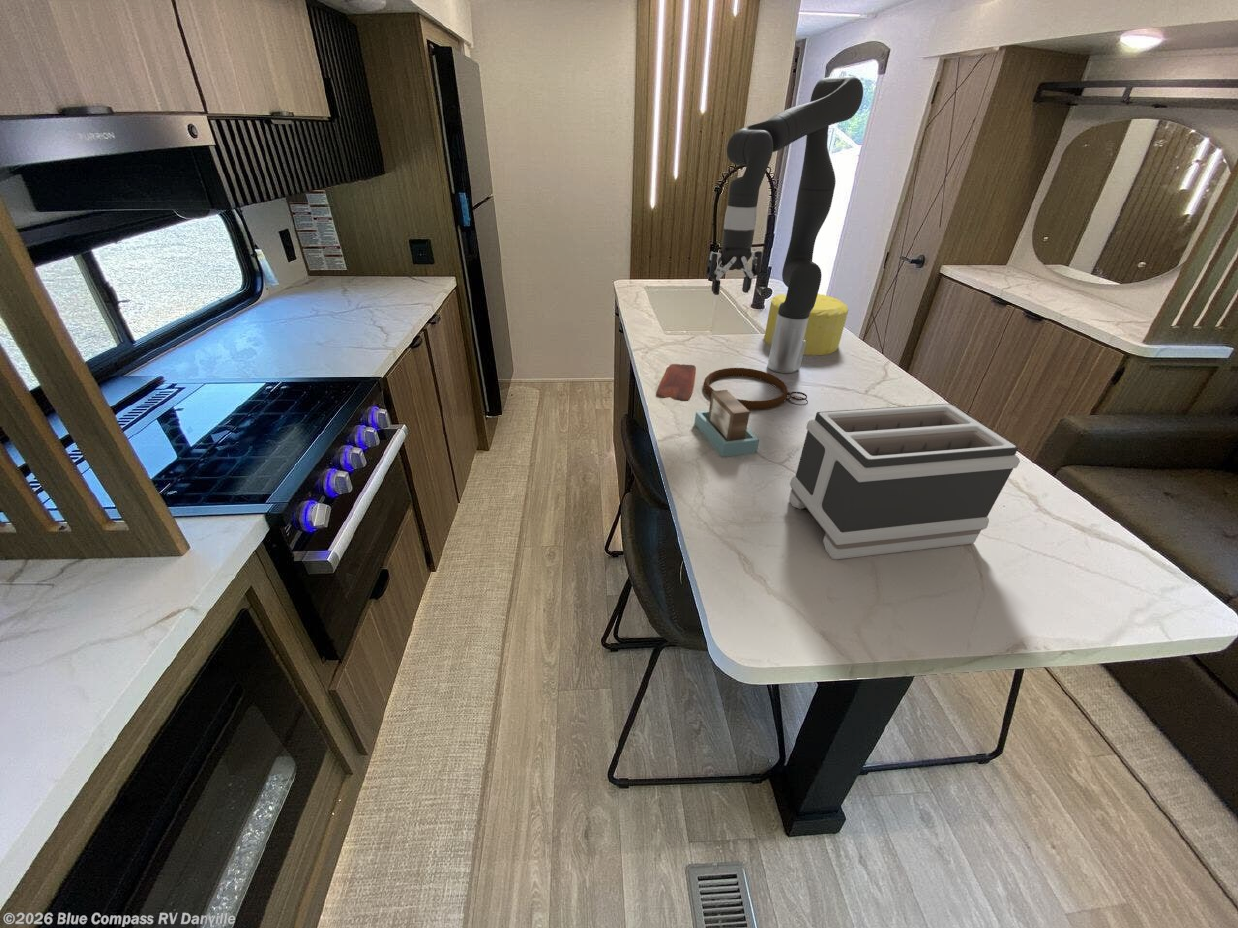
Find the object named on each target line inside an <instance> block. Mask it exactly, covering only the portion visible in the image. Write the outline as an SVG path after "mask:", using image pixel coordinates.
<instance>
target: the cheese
mask: <svg viewBox="0 0 1238 928" xmlns="http://www.w3.org/2000/svg"><path fill="white" fill-rule="evenodd" d="M786 295H787V294H783V293H782V294H777V295H775V296H773V297H772V298H771V300H770V305H769V311H768V316H767V322H766V328H765V332H764V337H763V339H764V341H765V342H766V344H767V345H770V346H772V341H773V336H774V331H775V326H776V320H777V315H778V310H779V306H780V304H781V303H783V302H784V301H785V299H786ZM848 313H849V308H848V305H847V304H846V303H843V302H842V300H840V299H838V298H836V297H832V296H829V295H825V294H820V293H818V295H817V298H816V302H815V305H814V307H813V309H812V310H811V312H810V315H809V319H808V323H807V328H806V332H805V337H804V340H805V341H806V344H805V349H804V353H803V356H804V355H806V356H822V354H823V355H830V354H832V353H834V352H836V351H837V350H838V349H839V346H840V343H841V339H842V334H843V331H844V328H845V324H846V320H847V317H848Z"/></svg>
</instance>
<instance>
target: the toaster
mask: <svg viewBox="0 0 1238 928" xmlns="http://www.w3.org/2000/svg"><path fill="white" fill-rule="evenodd" d="M805 428H806V430H807V432H806V435H805V437H804V438H805V440H804V441H803V442H804V443H803V447H802V450H801V454H800V458H799V462H798V465H797V470H796V473H795V475H793V476H792V478H791V480H790V482H789V486H790V488H791V490H790V493H789V498H788V501H789V503H790V504H791V506H792V507H793V508H794V509H799V510H800V509H807V510H808V512H810V514H811V515H812V517H813V518H814V520H815V521H816V522H817V523H818V524H819V525H820V527H821V529H823V531H824V532H825V534H824V537H823V545H824V548H825V552H827V554H828V555H829V557H830V558H831V559H832V560H842V559H843V560H844V559H850V558H859V557H869V556H870V557H871V556H879V555H885V554H893V553H894V554H895V553H896V554H897V553H902V552H911V551H912V552H913V551H920V550H921V551H922V550H930V549H936V548H938V549H939V548H946V547H955V546H964V545H972V544H974V543H975V542H976V541H977V540H978V537H979V535H980V534H981V531H982V530H986V529H987V528H988V525H989V523H990V518H989V517H988V516H989V515H990V512H991V511H992V509H993V507H994V505H995V503H996V501H997V499H998V498H999V496H1000V493H1001V492H1002V491H1003V489H1004V486H1005V484H1006V483H1007V481H1008V479H1009V477H1010V476H1011V474H1012V472H1013V470H1014V469H1016V468H1018V467H1019V464H1020V461H1021V460H1020V458H1019V457H1018V456H1017V455H1016V454H1017V452H1018V450H1019V446H1018V445H1016V444H1014V443H1013V442H1011V441H1009V440H1008V439H1007V438H1005V437H1003V436H1002V435H1000V434H998V433H997V432H996V431H994V430H992V429H991V428H989V427H987V426H986V425H984V424H983V423H981V422H980V421H978V420H977V419H975V418H973V417H972V416H971V415H969V414H967V413H966V412H964V411H963V410H961V409H959V408H957V407H956V406H955V405H953V404H951V403H937V404H921V405H904V406H892V407H873V408H858V409H843V410H841V409H840V410H829V411H817V412H816V413H815V416H814V419H811V420H808V421H807V423H806V426H805Z"/></svg>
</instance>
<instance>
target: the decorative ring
mask: <svg viewBox="0 0 1238 928" xmlns="http://www.w3.org/2000/svg"><path fill="white" fill-rule="evenodd" d="M729 377H744V378H752V379H754V380H755V379H756V380H760V381H763V382H766V383H768V384H771V385H772V384H773V385H772V386H774V385H775V386H776V389H778V390H779V392H780V393H781V395H779V396H777V397H775V398H774V397H773V398H770V399H766V400H763V399H762V400H747V399H739V398H736V399H737V400H738V401H739V402H740V403H741V404H742V405H743V406H744V407H746V408H747V409H748V410H749V411H762V410H763V411H764V410H771V409H773V408H777V407H779V406H780V405H782V404H784V403H785V401H788V403H791V404H792V405H794V406H795V405H796V406H806V405H808V403H809V400H808V399H807V398H808V395H807V394H806V393H804V392H802V391H792V392H791V391H789V389H788V387H787V385H786V383H785V382H784V381H783V380H782V379H780V378H779V377H778V376H775V375H773V374H771V373H770V372H769V373H768V372H765V371H763V370H758V369H754V368H747V367H746V368H745V367H730V368H729V367H728V368H721V369H717V370H714V371H713V372H710V373H709V374H708V375H707V376H706V377H705V378H704V381H703V385H702V386H703V389H704V392H705V394H706V395H707V397H709V398H710V399H711V393H712V391H716V390H715V389H714V388H713V387H712V386H711V385H710V384H711V382H713V381H715V380H718V379H722V378H729ZM775 386H774V387H775ZM792 394H799V395H802V396H803V397H801V396H792ZM788 396H789V397H788ZM791 399H793V400H795V401H806V403H804V404H803V403H802V404H799V403H794V402H792V401H791Z"/></svg>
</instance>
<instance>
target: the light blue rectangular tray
mask: <svg viewBox="0 0 1238 928" xmlns="http://www.w3.org/2000/svg"><path fill="white" fill-rule="evenodd" d="M708 414H709V409H708V410H699V411H698V410H697V411H695V415H694V416H695V417H694V425H695V426H696V427H697V429H698V430H699V432H701V433H702V435H703V436H704V437H705V438H706V439H707V440H708V442H709V443H710V445H711V446H712V447H713V448H714V449H715V451H716V452H717V453H718V454H719V456H721V458H726V457H733V456H734V457H735V456H740V455H746V454H747V455H748V454H754V453H757V452H758V447H759V444H760V443H759V442H760V439H759V437H758V436H756V434H754V433H753V431H751V430H750V429H749V427H747V430H746V435H745V439H742V440H734V441H727V442H726V441H725V439H724V438H723V437H722V436H721V435H720V434H719V433H718V432H717V430H716V429H715V428H714V427H713V426H712V425H711V424H710V422H709V421H708Z"/></svg>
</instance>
